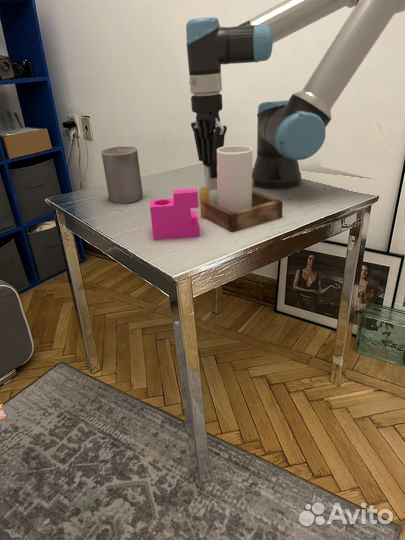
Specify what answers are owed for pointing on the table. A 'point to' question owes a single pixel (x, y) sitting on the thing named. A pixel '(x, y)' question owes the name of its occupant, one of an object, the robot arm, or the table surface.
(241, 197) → the cup
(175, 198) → the bracket
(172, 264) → the table surface
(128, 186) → the pillar candle
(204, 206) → the bay
